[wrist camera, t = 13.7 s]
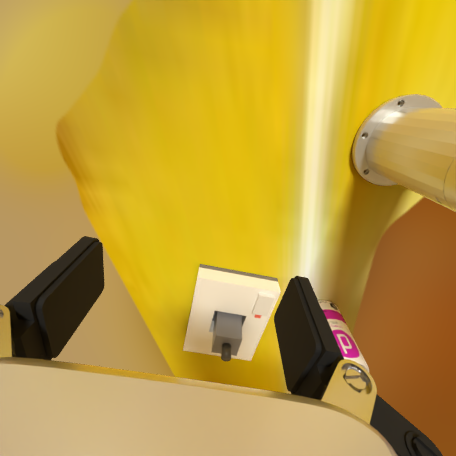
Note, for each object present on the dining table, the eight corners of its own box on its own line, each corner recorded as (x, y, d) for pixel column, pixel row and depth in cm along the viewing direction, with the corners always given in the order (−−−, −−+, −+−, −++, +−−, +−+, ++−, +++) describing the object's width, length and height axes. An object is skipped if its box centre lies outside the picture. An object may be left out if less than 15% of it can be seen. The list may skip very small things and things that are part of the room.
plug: (240, 306, 50) (242, 351, 41) (235, 321, 52) (236, 368, 43) (218, 302, 50) (214, 347, 41) (214, 318, 52) (210, 364, 43)
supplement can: (303, 297, 50) (328, 367, 37) (341, 298, 50) (380, 369, 37) (297, 323, 54) (318, 394, 41) (332, 324, 54) (365, 396, 41)
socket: (277, 278, 48) (281, 295, 43) (249, 345, 58) (250, 364, 54) (200, 264, 46) (196, 280, 42) (186, 335, 56) (182, 353, 52)
